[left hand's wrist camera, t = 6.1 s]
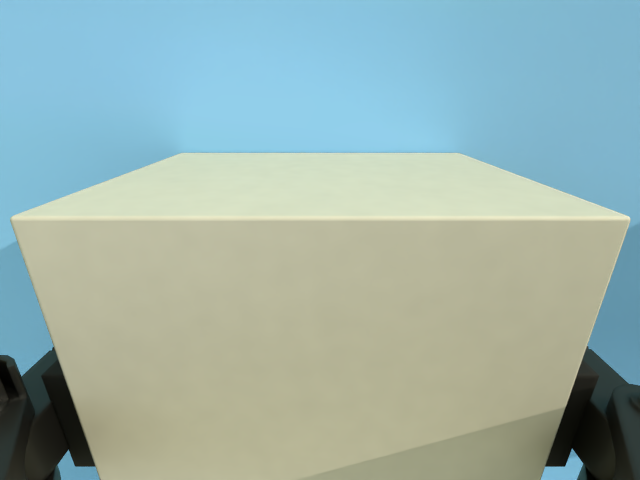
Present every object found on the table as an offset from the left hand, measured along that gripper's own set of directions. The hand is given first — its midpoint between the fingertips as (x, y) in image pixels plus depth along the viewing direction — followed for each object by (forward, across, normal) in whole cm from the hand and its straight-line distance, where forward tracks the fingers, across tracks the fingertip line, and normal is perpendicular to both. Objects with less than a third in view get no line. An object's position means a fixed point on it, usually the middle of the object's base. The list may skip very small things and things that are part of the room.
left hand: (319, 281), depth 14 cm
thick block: (+1, 0, -28) cm, 28 cm away
